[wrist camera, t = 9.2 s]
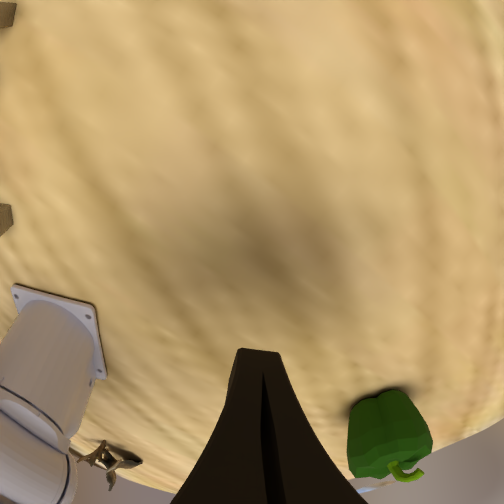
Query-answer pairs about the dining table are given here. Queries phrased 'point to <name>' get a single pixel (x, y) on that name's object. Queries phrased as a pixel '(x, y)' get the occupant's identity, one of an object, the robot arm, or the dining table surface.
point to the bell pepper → (387, 437)
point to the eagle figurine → (108, 462)
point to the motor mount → (3, 17)
